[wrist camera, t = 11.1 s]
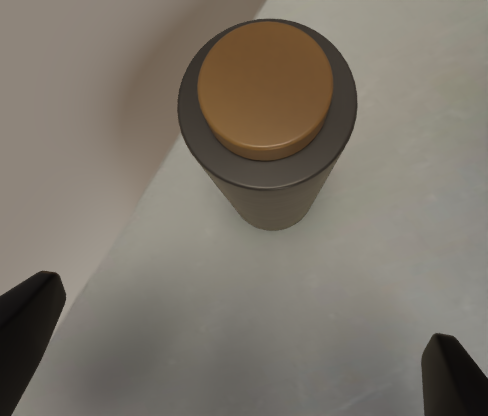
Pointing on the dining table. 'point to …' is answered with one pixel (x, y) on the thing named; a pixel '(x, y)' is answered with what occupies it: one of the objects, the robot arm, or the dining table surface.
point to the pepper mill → (268, 116)
